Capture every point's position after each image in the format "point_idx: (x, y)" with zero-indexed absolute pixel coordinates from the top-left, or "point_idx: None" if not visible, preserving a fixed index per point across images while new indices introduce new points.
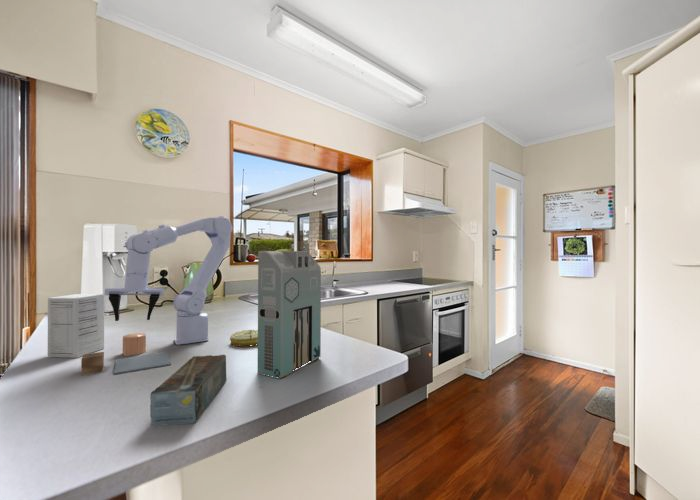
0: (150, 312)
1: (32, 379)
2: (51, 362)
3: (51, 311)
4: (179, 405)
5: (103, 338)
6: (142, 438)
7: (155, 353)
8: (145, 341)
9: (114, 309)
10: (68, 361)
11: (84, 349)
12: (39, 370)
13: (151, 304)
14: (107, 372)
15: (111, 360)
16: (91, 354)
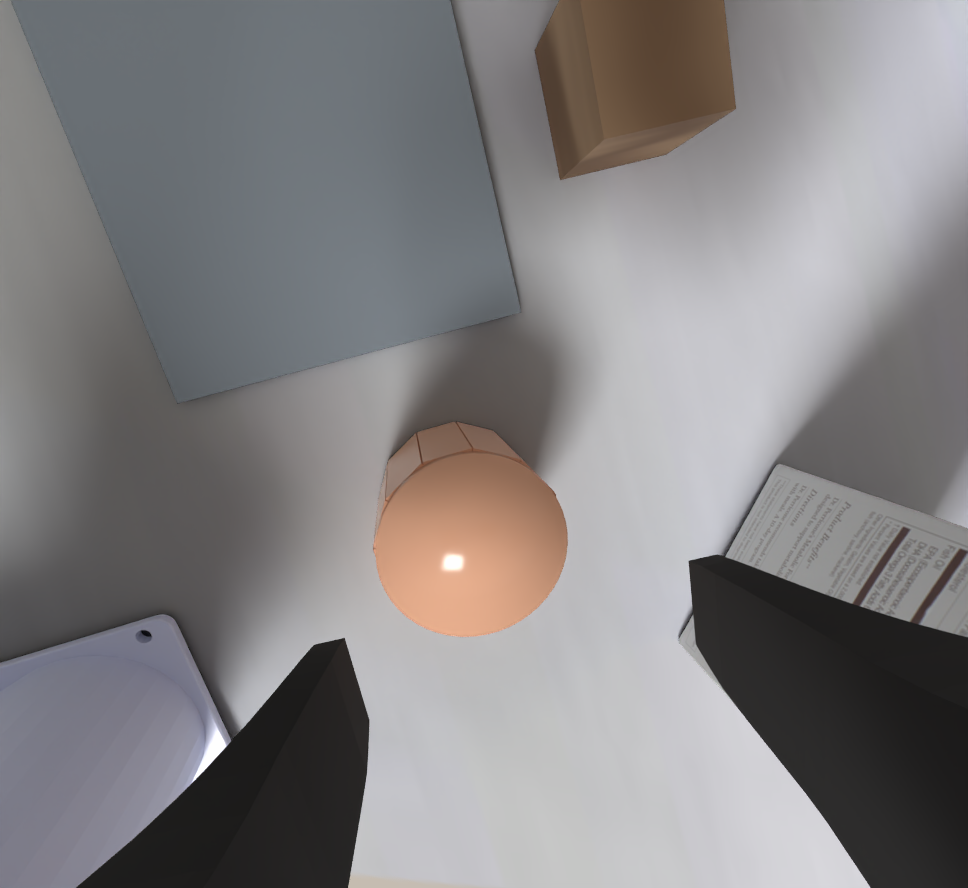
0: (261, 715)
1: (885, 66)
2: (877, 412)
3: None
4: None
5: None
6: None
7: (264, 377)
8: (376, 526)
9: (877, 616)
10: (799, 403)
11: (776, 522)
12: (895, 257)
13: (163, 864)
14: (493, 11)
15: (554, 334)
16: (677, 77)
